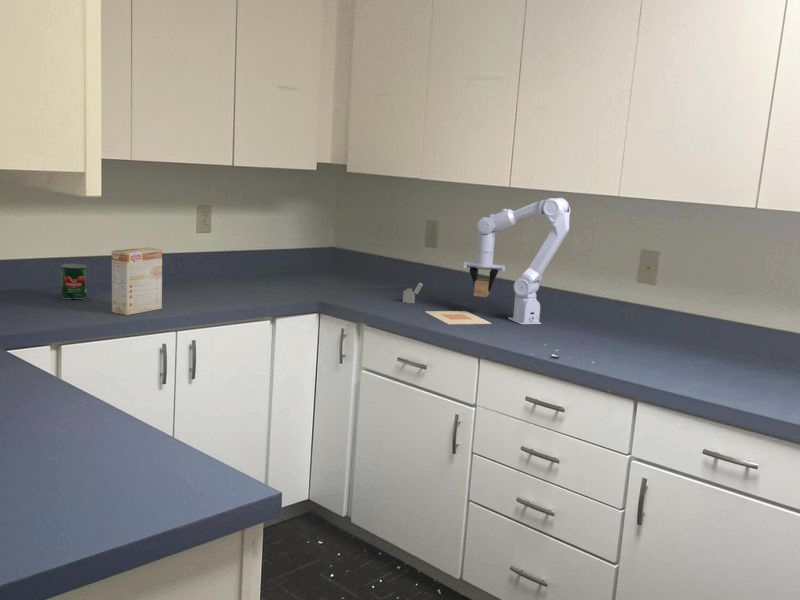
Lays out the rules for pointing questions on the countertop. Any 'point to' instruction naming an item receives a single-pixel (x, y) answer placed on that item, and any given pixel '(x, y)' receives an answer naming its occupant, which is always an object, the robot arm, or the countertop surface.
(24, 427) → the countertop surface
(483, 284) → the walnut block
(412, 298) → the lighter
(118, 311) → the coffeecake box
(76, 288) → the canned tomato
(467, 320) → the mat
